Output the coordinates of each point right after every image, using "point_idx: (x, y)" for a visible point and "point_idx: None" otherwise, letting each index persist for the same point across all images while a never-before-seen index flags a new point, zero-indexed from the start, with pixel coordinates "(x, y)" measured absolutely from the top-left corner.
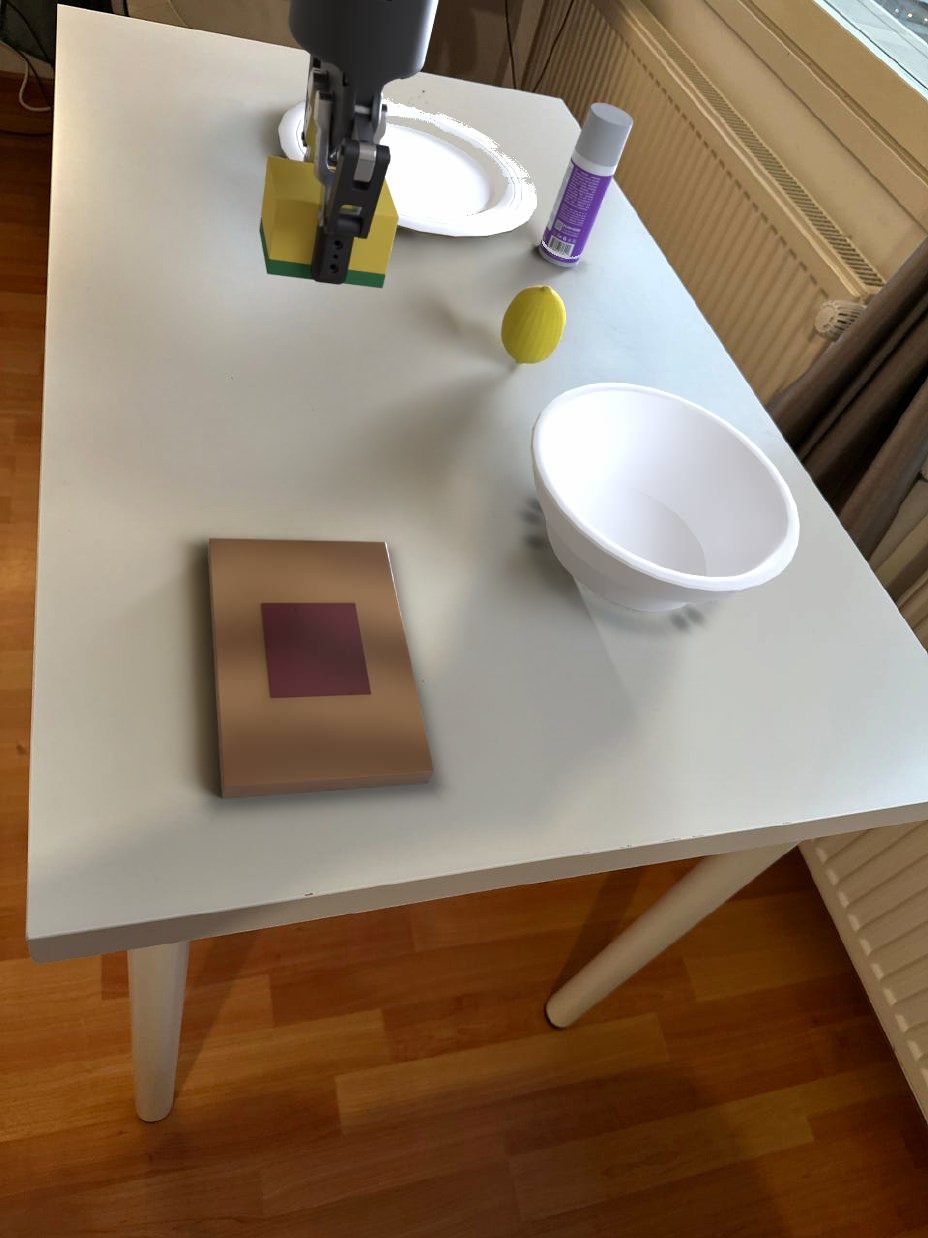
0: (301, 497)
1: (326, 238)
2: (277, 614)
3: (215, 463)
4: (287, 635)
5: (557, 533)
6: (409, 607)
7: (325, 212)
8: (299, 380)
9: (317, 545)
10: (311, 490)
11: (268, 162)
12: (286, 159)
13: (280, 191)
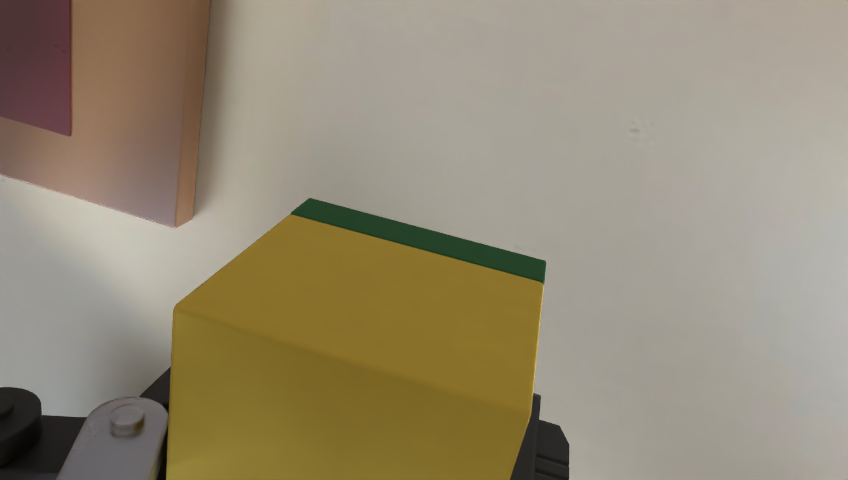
0: (315, 146)
1: (144, 397)
2: (49, 15)
3: (408, 26)
4: (15, 17)
5: None
6: (107, 215)
7: (13, 434)
8: (602, 255)
9: (172, 124)
10: (328, 168)
11: (478, 390)
12: (495, 475)
13: (217, 340)
